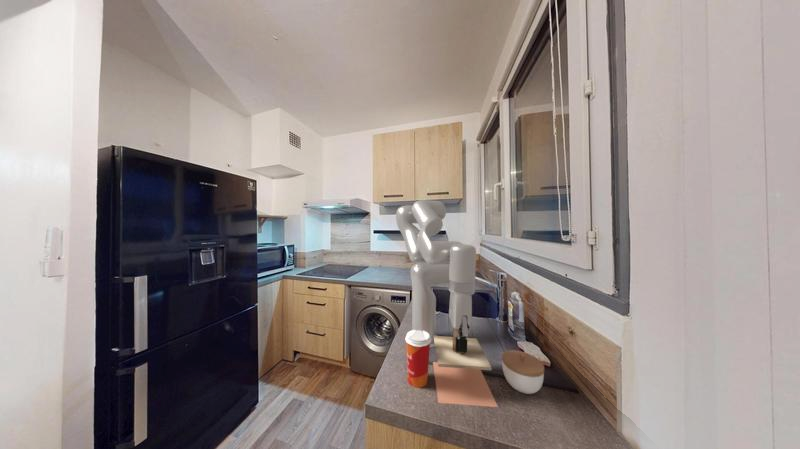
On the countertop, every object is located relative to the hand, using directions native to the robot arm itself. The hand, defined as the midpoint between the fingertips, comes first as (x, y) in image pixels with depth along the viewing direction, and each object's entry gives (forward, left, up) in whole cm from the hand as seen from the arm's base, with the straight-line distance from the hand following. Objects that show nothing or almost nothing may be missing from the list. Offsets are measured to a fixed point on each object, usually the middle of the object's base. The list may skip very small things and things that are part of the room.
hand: (459, 346), depth 65 cm
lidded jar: (+1, +18, -11) cm, 21 cm away
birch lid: (0, 0, -2) cm, 2 cm away
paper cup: (+2, -12, -11) cm, 16 cm away
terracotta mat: (+1, 0, -10) cm, 11 cm away
